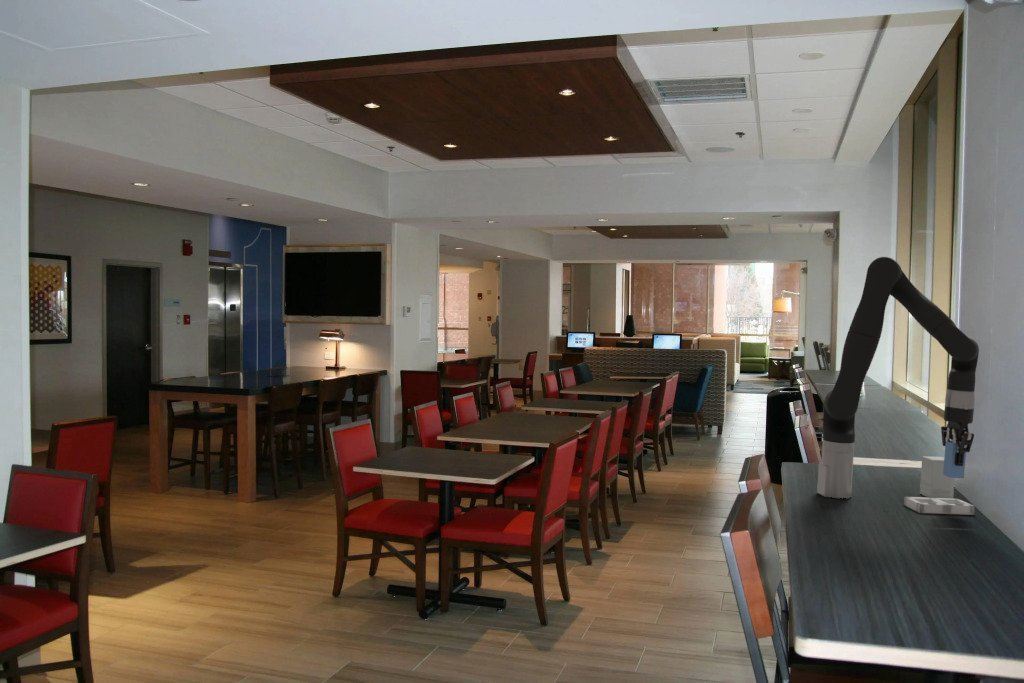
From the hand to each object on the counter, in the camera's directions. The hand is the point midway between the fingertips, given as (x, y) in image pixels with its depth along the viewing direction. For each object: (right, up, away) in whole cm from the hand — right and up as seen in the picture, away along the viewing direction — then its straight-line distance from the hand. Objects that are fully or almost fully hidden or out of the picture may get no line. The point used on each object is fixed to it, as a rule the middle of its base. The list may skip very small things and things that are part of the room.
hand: (954, 463), depth 246 cm
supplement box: (+4, -14, +19) cm, 24 cm away
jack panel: (-4, -14, +1) cm, 15 cm away
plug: (0, -4, 0) cm, 4 cm away
